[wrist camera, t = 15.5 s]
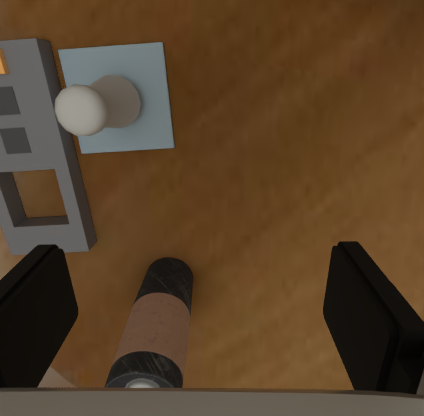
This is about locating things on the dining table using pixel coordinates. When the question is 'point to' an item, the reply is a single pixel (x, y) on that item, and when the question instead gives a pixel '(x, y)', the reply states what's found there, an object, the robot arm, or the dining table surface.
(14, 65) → the power strip
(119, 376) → the travel mug
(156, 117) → the rubber mat
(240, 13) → the dining table surface
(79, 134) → the salt shaker
